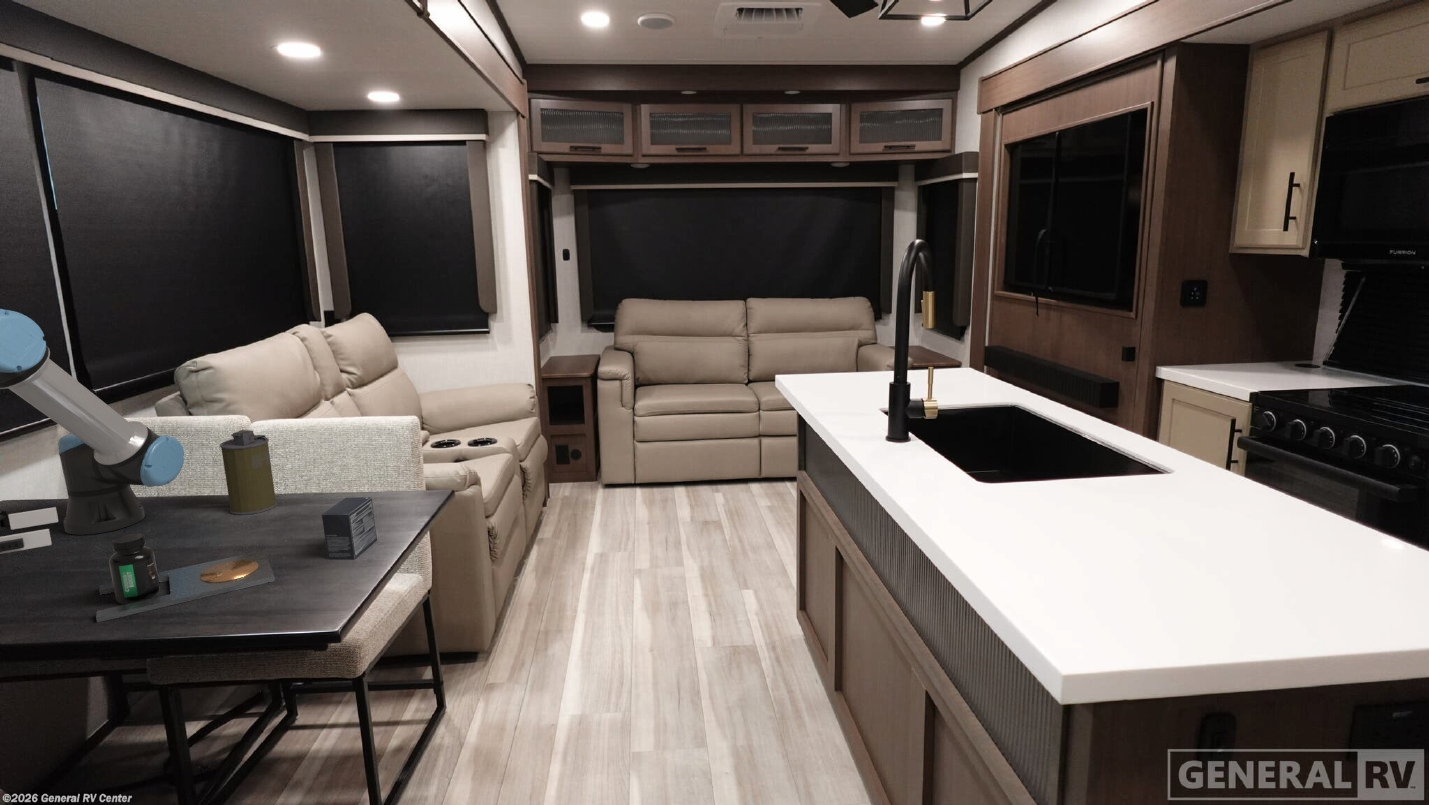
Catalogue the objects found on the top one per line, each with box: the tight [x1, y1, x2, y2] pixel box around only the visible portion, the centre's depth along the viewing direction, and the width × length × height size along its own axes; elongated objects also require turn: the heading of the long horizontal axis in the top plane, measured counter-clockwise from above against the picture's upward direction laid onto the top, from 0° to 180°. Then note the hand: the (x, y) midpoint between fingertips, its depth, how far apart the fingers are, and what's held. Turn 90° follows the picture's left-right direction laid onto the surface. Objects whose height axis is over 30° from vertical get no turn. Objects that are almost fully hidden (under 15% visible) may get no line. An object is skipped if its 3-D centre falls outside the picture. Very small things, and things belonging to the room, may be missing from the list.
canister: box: [219, 429, 278, 516], centre depth 191 cm, size 11×10×20 cm
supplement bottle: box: [108, 532, 161, 605], centre depth 145 cm, size 7×7×12 cm
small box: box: [321, 496, 378, 560], centre depth 167 cm, size 11×6×10 cm, turn 178°
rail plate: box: [95, 550, 276, 623], centre depth 151 cm, size 28×16×1 cm, turn 126°
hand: (53, 525), depth 137 cm, fingers open, 13 cm apart
